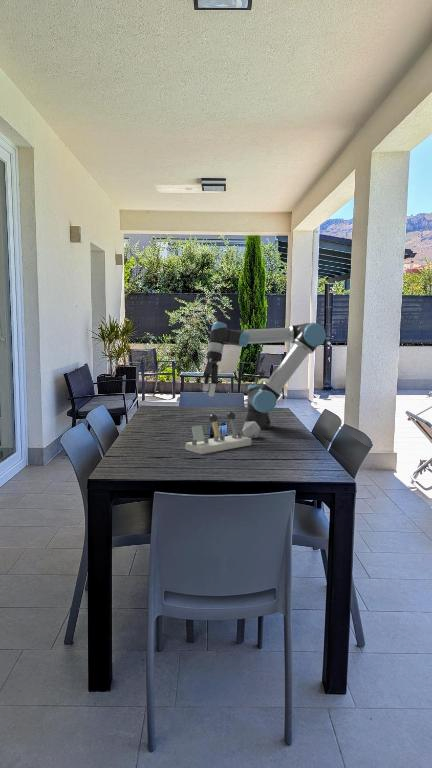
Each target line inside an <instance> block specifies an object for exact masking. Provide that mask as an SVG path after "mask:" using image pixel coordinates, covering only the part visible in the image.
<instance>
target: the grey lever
mask: <svg viewBox="0 0 432 768" xmlns="http://www.w3.org/2000/svg"><path fill="white" fill-rule="evenodd" d="M226 418H227V420H229V423H230V428H231V431H232V433H236V436H238V435H239V433H238V432H239V429H238V427H237V426H238V425H237V422H236V413H235V412H233V411H229V412H228V413H227V414H226Z"/></svg>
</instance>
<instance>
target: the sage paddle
mask: <svg viewBox="0 0 432 768" xmlns="http://www.w3.org/2000/svg"><path fill="white" fill-rule="evenodd" d="M190 429H191V430H192V431H191V433H192V437H193V439H196V440H197V442H201V441H205V438H204V437H205V434H204V431H203V425H196V426H195V425H193V426H191V428H190Z"/></svg>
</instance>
